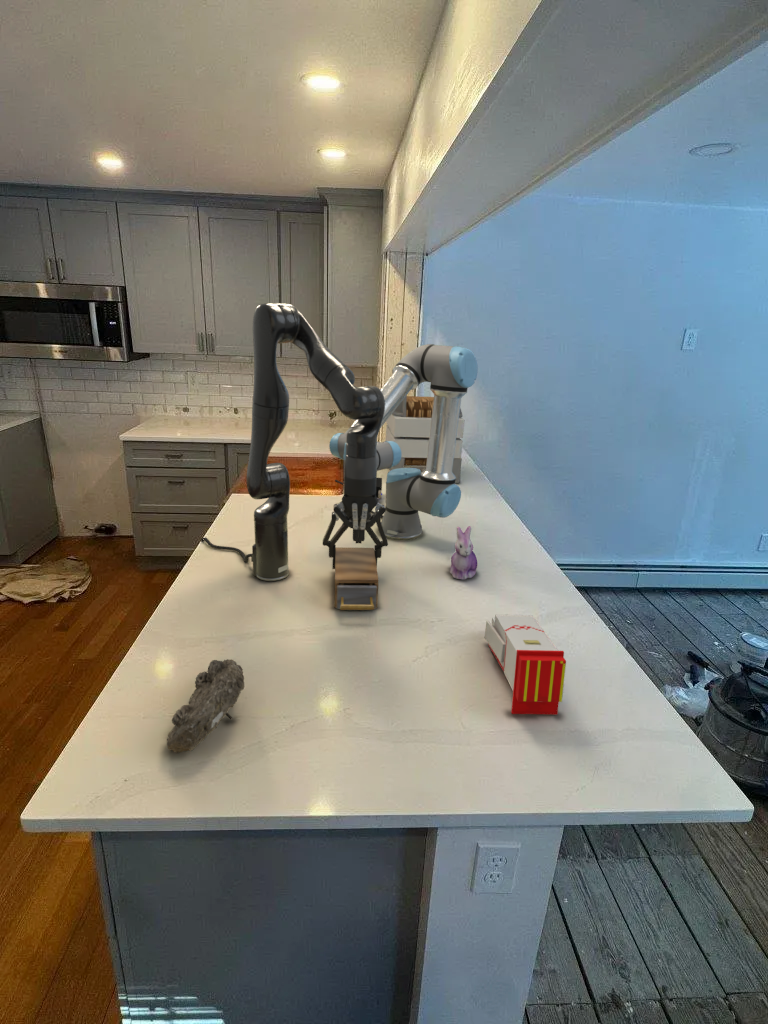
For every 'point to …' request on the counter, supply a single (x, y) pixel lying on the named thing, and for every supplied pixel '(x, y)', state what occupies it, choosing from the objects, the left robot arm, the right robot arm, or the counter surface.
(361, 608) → the drawer
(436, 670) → the counter surface
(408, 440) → the white crate
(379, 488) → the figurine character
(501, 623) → the toy
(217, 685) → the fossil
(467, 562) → the figurine
